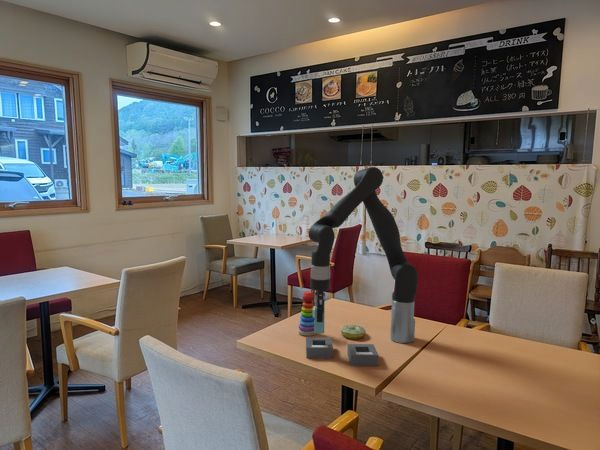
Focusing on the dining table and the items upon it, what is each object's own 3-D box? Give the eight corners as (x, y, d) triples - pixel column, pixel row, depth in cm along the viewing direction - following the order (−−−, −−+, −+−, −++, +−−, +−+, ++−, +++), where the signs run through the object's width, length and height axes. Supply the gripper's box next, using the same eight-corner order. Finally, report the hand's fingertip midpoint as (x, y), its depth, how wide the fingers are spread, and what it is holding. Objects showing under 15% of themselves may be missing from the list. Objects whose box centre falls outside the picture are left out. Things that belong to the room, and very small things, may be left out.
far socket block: (330, 347, 164) (330, 337, 164) (332, 358, 154) (333, 347, 154) (305, 347, 164) (305, 337, 163) (306, 358, 154) (306, 347, 154)
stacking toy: (316, 336, 175) (317, 294, 173) (297, 336, 175) (298, 294, 173) (316, 330, 183) (316, 289, 181) (298, 329, 183) (298, 289, 181)
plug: (323, 329, 160) (323, 305, 159) (324, 333, 156) (324, 307, 155) (312, 329, 160) (312, 304, 159) (312, 333, 156) (313, 307, 155)
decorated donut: (369, 334, 179) (369, 325, 179) (360, 342, 170) (360, 333, 169) (347, 329, 184) (347, 321, 184) (337, 337, 175) (337, 328, 175)
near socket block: (373, 354, 158) (373, 343, 158) (378, 365, 148) (378, 354, 148) (347, 353, 158) (347, 343, 158) (350, 365, 148) (351, 354, 148)
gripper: (331, 281, 149) (330, 326, 151) (328, 272, 163) (327, 314, 165) (311, 281, 149) (310, 326, 151) (309, 272, 163) (309, 313, 165)
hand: (319, 319), depth 158 cm, fingers closed on plug, 3 cm apart
